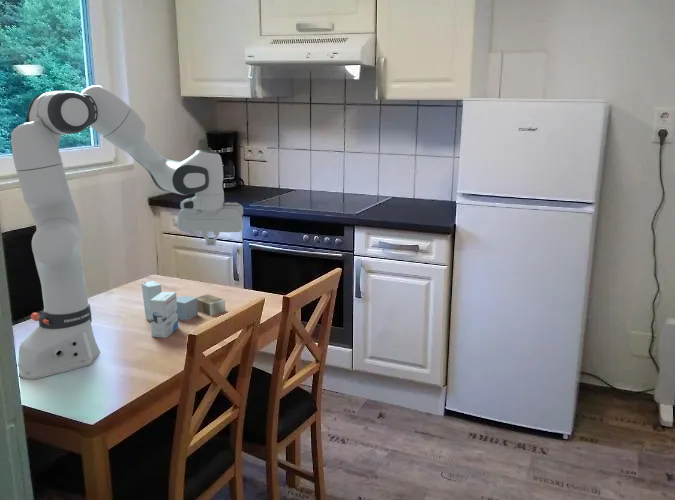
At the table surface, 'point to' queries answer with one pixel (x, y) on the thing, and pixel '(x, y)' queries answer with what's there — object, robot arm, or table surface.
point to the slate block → (186, 307)
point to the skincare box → (149, 295)
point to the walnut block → (210, 304)
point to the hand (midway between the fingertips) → (211, 245)
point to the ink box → (164, 314)
